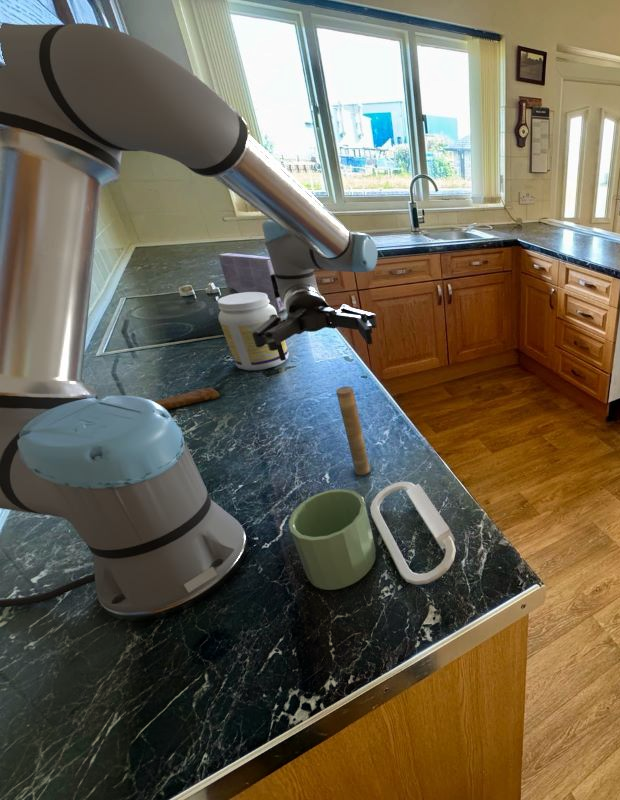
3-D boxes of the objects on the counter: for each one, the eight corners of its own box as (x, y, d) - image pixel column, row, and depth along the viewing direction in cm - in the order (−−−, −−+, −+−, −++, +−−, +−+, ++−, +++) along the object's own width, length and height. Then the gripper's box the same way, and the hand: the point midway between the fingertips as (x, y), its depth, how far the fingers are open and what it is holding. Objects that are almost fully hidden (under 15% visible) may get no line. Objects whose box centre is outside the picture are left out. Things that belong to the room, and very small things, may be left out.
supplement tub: (298, 352, 116) (281, 291, 107) (275, 372, 105) (255, 305, 97) (252, 352, 115) (231, 290, 107) (225, 371, 105) (200, 305, 96)
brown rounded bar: (212, 389, 97) (206, 375, 95) (222, 396, 94) (216, 382, 92) (101, 425, 84) (92, 410, 82) (109, 435, 81) (100, 419, 79)
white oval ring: (369, 508, 68) (359, 493, 65) (415, 481, 71) (407, 465, 68) (416, 604, 54) (405, 588, 51) (471, 564, 57) (463, 548, 54)
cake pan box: (291, 308, 148) (277, 255, 139) (281, 312, 144) (266, 259, 135) (243, 304, 151) (226, 252, 142) (232, 308, 146) (214, 255, 138)
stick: (357, 477, 72) (337, 395, 64) (353, 469, 74) (334, 388, 66) (371, 472, 73) (354, 391, 65) (368, 464, 75) (350, 384, 67)
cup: (312, 601, 52) (293, 551, 48) (302, 553, 58) (285, 504, 54) (383, 570, 56) (372, 521, 52) (366, 528, 62) (355, 481, 58)
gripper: (373, 316, 94) (404, 350, 78) (241, 337, 82) (247, 381, 67) (367, 282, 90) (398, 310, 75) (228, 299, 78) (231, 337, 63)
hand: (327, 344), depth 71 cm, fingers open, 13 cm apart
